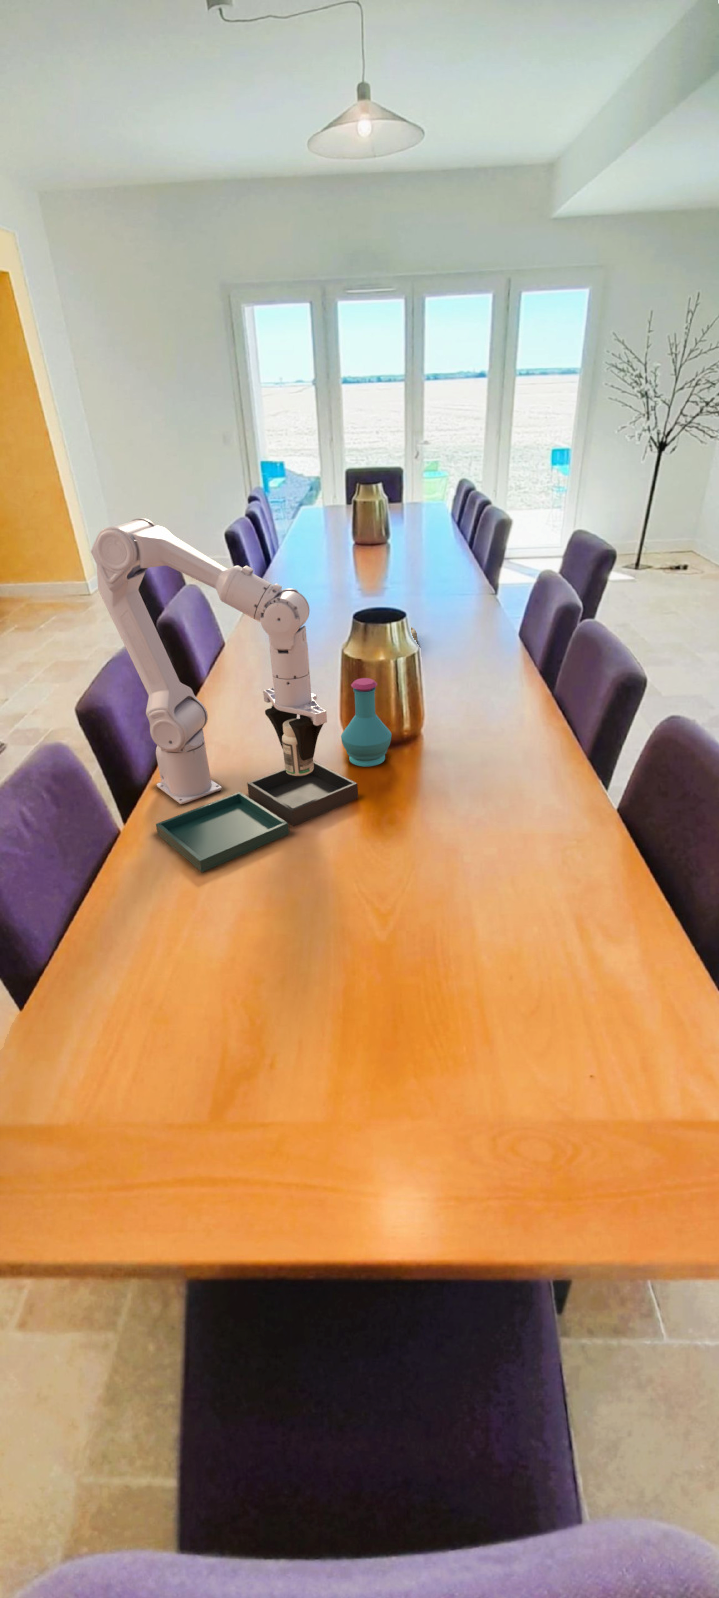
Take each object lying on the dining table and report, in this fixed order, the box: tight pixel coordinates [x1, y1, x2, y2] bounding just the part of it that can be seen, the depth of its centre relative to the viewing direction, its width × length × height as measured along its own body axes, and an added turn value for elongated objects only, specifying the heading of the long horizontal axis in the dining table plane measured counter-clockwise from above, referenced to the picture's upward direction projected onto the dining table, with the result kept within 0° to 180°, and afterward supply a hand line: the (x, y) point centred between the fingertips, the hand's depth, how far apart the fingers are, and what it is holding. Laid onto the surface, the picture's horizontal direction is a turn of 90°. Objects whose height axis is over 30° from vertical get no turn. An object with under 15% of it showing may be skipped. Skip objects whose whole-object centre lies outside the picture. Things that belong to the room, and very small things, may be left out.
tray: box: [155, 791, 290, 873], centre depth 111 cm, size 14×15×2 cm
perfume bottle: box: [340, 677, 392, 768], centre depth 130 cm, size 9×9×15 cm
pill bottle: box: [282, 717, 314, 776], centre depth 116 cm, size 5×5×8 cm
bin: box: [246, 760, 359, 827], centre depth 120 cm, size 13×13×3 cm
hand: (298, 753), depth 117 cm, fingers closed on pill bottle, 5 cm apart
